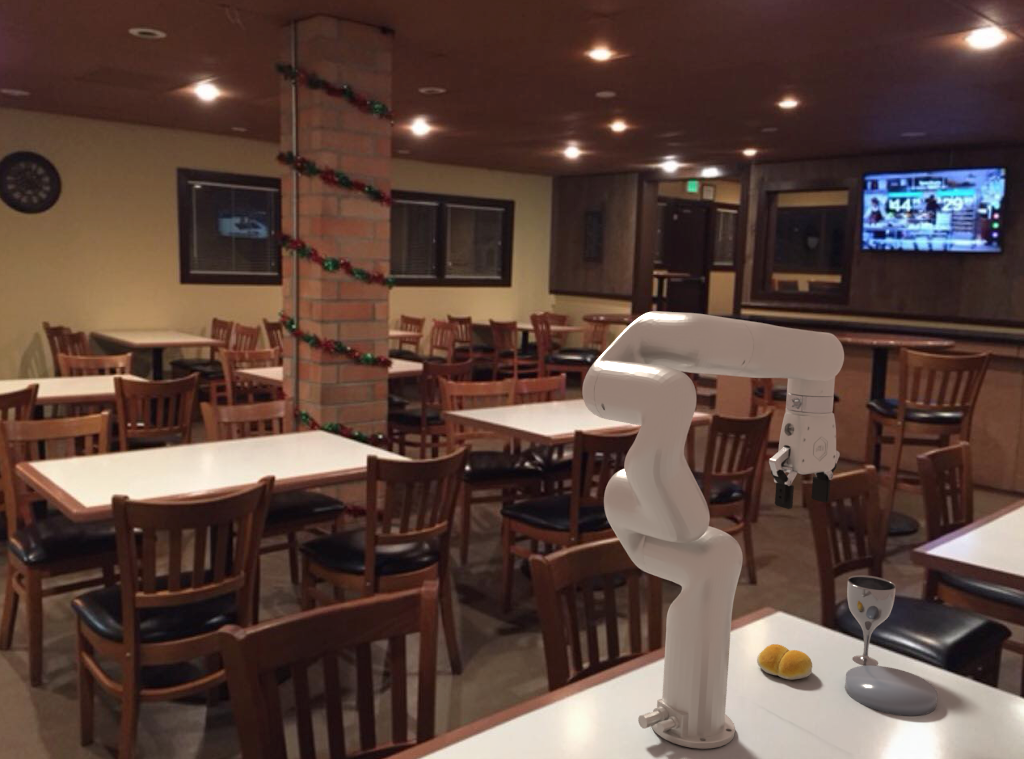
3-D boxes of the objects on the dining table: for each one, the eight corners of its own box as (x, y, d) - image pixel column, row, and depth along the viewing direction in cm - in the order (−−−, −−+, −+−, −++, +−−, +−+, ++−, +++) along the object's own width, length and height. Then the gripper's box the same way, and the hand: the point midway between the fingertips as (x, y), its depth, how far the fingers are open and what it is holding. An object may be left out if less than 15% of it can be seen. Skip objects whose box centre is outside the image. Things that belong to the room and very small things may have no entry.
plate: (904, 724, 136) (905, 711, 135) (827, 688, 147) (828, 676, 147) (953, 702, 143) (954, 691, 143) (876, 670, 155) (877, 659, 155)
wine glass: (840, 650, 163) (846, 572, 161) (886, 657, 161) (893, 578, 159) (842, 667, 155) (849, 586, 154) (891, 675, 153) (898, 592, 151)
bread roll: (801, 685, 147) (801, 662, 146) (751, 671, 152) (752, 649, 152) (820, 668, 153) (820, 646, 152) (771, 655, 159) (772, 634, 158)
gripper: (794, 410, 139) (787, 515, 141) (859, 405, 149) (852, 503, 151) (757, 404, 145) (750, 504, 147) (822, 399, 155) (815, 494, 157)
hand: (802, 503), depth 149 cm, fingers open, 9 cm apart
